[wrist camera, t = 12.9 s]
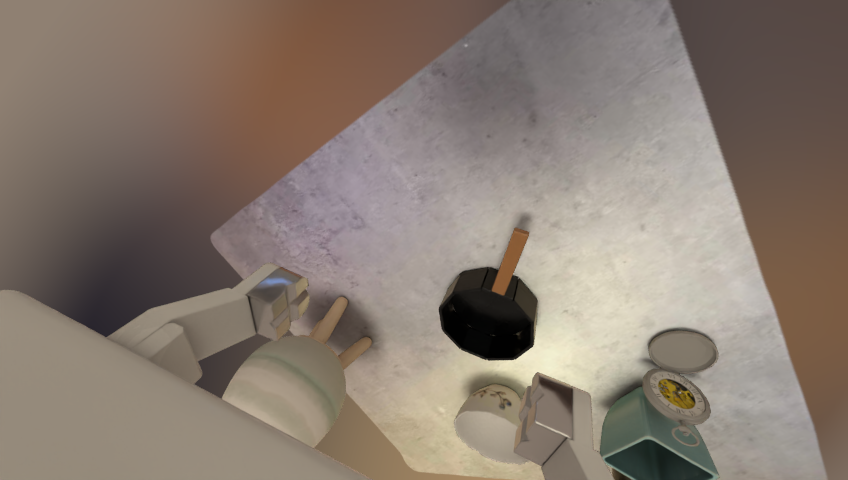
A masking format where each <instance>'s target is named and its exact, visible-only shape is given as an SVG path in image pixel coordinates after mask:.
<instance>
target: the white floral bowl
mask: <svg viewBox="0 0 848 480" xmlns="http://www.w3.org/2000/svg"><path fill="white" fill-rule="evenodd" d="M520 404H521V399H520V398H519V396H518V394H517V393H516V392H515V391H513V390H512V389H510V388H508V387H506V386H503V385H497V384H492V385H489V386H487V387H485V388H482V389H480V390H478V391H476V392H475V393H473V394H472V395H471V396H470V397H469V398H468V399H467V400H466V401H465V403H464V404H463V405H462V407H461V409H460V410H459V412H458V414H457V416H456V418H455V421H454V428H455V431H456V433H457V436H458V437H459V438H460V439H461V440H462V442H464V443H465V444H466V445H467V446H468V447H470V448H471V449H472V450H476V451H478V452H479V453H480V454H481V455H483V456H484V457H486V458H488V459H491V460H493V461H496V462H503V463H507V464H519V465H521V464H524V463H526V462H527V463H529V462H530V460H528V459H526V458H524V457H522V456H520V455H518V454H516V453H514V452H513V451H514V443H515V436H516V430H517V428H518V427H519V425H520V424H521V421H520V419H519V416H518V415H519V409H520Z"/></svg>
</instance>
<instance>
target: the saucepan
mask: <svg viewBox="0 0 848 480" xmlns="http://www.w3.org/2000/svg"><path fill="white" fill-rule="evenodd" d="M528 236H529V232H527V231H524V230H521V229H518V228H514V231H513V234H512V236H511V239H510V242H509V244H508V247H507V250H506V252H505V255H504V258H503V260H502V263H501V266H500V268H499V271H498V270H495V269H492V268H488V267H487V268H482V269H476V270H471V271H465V272H462V273H461V274H460V275H459V276H458V277H457V278H456V280H455V281H454V282H453V283H452V284H451V286H450V287H449V288H448V290H447V292H446V294H445V296H444V299H443V301H442V303H441V305H440V307H439V315H440V321H441V327H442V330H443V332H444V333H445V334H446V335H447V336H448V337H449V338H450V339H451V340H452V341H453V342H454V343H455V344H456V345H457V346H458V348H459V349H460V348H461V350H463V351H465V352H468V353H470V354H473V355H475V356H478V357H480V358H482V359H485V360H514V359H517V358H518V357H519V356H521V355H522V354H523V353H525V352H526V351H527V350H529V349H530V348H532V347H533V345H534V339H535V331H536V324H537V299H536V297H535V296H534V295H533V294H532V293H531V292H530V290H529V289H528V288H527V287H526V286H525V285H524V283H523V282H522V281H521V280H520V279H518V277H515V276H512V275H513V273H514V270H515V268H516V265H517V263H518V261H519V258H520V256H521V253H522V251H523V248H524V246H525V243H526V241H527V239H528ZM453 307H454V309H455V310H454V309H453ZM455 311H456V312H457V313H456V312H455ZM530 323H531V324H530ZM467 324H468V325H469V326H468V325H467ZM529 324H530V325H529ZM470 326H471V327H470ZM519 332H520V333H519ZM516 333H518V334H516ZM513 334H514V335H513ZM492 335H496V336H492Z"/></svg>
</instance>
